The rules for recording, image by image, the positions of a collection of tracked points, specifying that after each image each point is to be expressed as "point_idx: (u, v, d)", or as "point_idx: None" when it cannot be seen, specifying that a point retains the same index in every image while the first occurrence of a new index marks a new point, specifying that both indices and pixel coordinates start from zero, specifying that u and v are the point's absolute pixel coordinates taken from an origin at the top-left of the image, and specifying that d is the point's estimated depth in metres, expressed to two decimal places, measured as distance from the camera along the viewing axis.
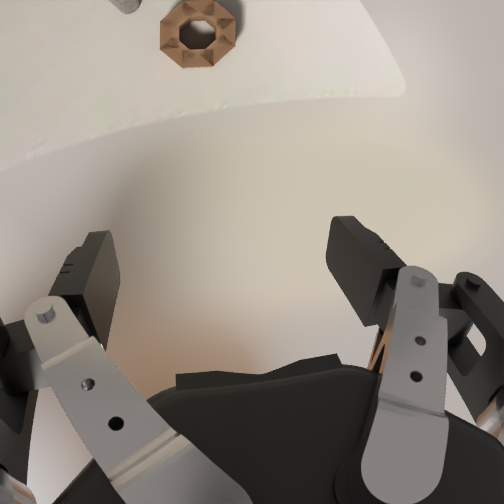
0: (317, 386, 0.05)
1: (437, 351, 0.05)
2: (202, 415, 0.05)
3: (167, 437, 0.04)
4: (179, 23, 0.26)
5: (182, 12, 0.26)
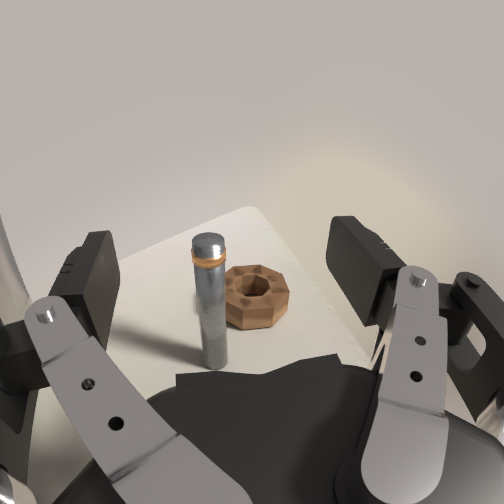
0: (317, 386, 0.05)
1: (437, 351, 0.05)
2: (202, 415, 0.05)
3: (166, 437, 0.04)
4: (244, 297, 0.35)
5: (231, 296, 0.35)
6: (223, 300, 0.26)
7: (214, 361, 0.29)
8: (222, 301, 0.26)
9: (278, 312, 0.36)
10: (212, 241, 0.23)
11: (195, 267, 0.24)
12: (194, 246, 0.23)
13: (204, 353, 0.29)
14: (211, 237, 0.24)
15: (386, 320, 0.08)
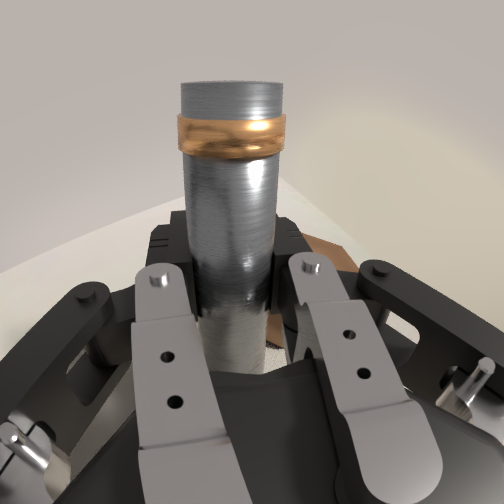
0: (317, 386, 0.05)
1: (370, 338, 0.05)
2: None
3: (215, 433, 0.04)
4: None
5: None
6: (268, 280, 0.09)
7: None
8: (265, 284, 0.09)
9: None
10: None
11: (188, 167, 0.07)
12: (188, 87, 0.06)
13: None
14: (241, 81, 0.07)
15: (289, 315, 0.09)
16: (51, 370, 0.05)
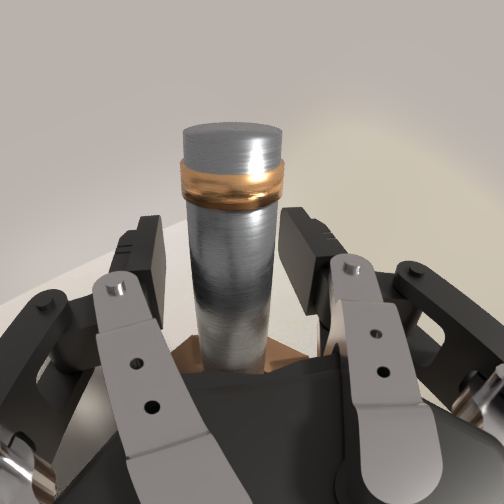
0: (317, 386, 0.05)
1: (396, 340, 0.05)
2: (202, 415, 0.05)
3: (197, 432, 0.04)
4: None
5: None
6: (267, 311, 0.10)
7: None
8: (264, 316, 0.10)
9: None
10: (246, 130, 0.07)
11: (191, 214, 0.08)
12: (190, 139, 0.07)
13: None
14: (241, 126, 0.08)
15: (325, 313, 0.09)
16: (22, 379, 0.05)
